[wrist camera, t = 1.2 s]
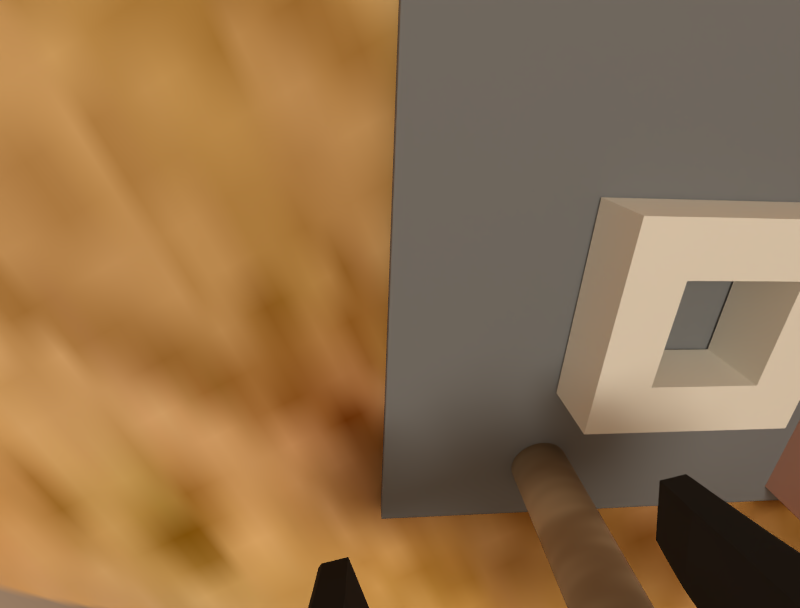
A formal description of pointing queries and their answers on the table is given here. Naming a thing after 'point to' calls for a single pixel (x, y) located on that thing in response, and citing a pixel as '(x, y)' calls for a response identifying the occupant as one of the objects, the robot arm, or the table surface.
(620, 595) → the birch dowel
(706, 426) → the beige square frame
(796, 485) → the wall
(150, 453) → the table surface
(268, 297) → the table surface
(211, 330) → the table surface
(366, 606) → the robot arm
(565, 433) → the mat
